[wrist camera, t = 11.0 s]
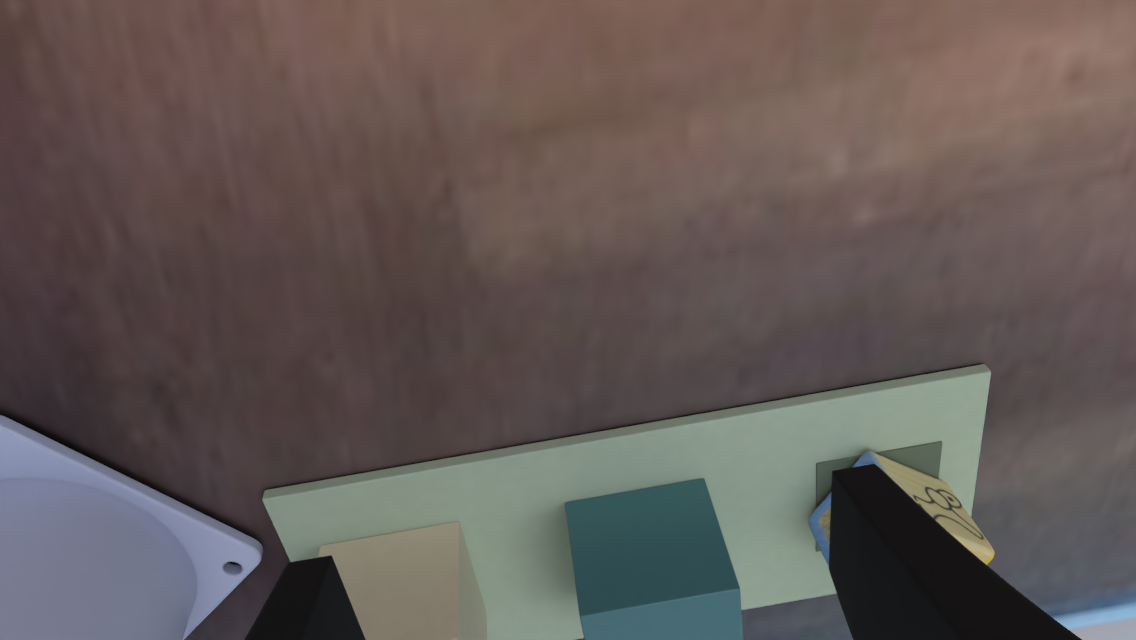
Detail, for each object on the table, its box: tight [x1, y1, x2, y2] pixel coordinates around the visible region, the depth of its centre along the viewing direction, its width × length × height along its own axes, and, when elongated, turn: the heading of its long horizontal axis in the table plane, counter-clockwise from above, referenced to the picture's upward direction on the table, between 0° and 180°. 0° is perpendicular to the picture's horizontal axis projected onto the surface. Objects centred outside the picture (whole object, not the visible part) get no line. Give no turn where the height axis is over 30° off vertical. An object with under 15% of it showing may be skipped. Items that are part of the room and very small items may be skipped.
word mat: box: [262, 364, 991, 640], centre depth 27 cm, size 20×8×1 cm, turn 98°
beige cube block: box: [318, 522, 487, 640], centre depth 25 cm, size 4×4×4 cm
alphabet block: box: [808, 451, 994, 567], centre depth 25 cm, size 3×3×3 cm
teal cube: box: [565, 478, 743, 640], centre depth 25 cm, size 4×4×4 cm
